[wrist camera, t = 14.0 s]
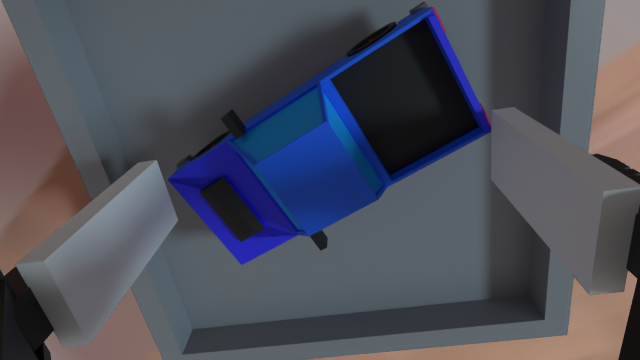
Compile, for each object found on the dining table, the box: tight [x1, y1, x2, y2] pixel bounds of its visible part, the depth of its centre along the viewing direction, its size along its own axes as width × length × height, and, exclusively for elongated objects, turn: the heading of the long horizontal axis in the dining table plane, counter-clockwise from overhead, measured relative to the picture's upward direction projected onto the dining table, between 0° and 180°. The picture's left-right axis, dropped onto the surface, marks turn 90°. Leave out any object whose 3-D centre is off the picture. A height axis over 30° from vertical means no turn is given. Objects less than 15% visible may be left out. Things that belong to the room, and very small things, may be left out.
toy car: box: [168, 2, 491, 265], centre depth 16 cm, size 7×12×5 cm, turn 123°
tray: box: [2, 0, 605, 360], centre depth 18 cm, size 24×22×2 cm
